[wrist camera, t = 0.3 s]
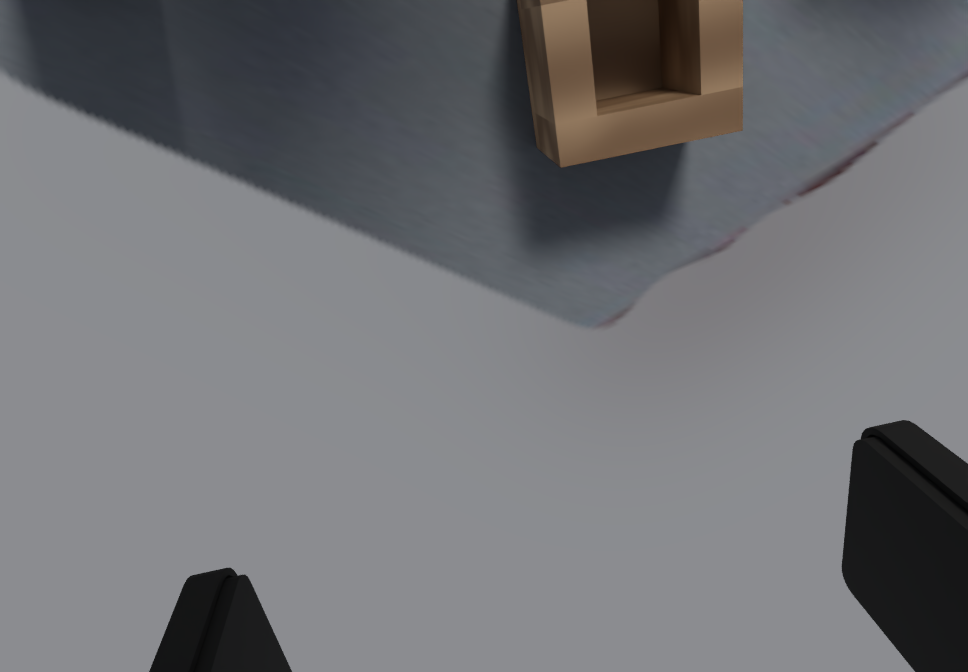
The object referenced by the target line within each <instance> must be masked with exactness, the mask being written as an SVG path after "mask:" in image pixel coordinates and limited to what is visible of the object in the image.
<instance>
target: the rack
mask: <svg viewBox="0 0 968 672" xmlns="http://www.w3.org/2000/svg"><path fill="white" fill-rule="evenodd" d="M517 6H518V13H519V20H520V28H521V35H522V42H523V50H524V57H525V64H526V72H527V79H528V86H529V94H530V101H531V108H532V116H533V123H534V130H535V138H536V145H537V148H538V149H539V150H540V151H541V152H543V153H544V154H545V155H546V156H547V157H549V158H550V159H551V160H552V161H553V162H555V163H556V164H557V165H558V166H559V167H560V168H561V167H566V166H571V165H576V164H581V163H586V162H591V161H596V160H601V159H605V158H610V157H615V156H620V155H625V154H630V153H635V152H640V151H645V150H649V149H654V148H659V147H664V146H669V145H674V144H679V143H684V142H689V141H693V140H698V139H703V138H708V137H713V136H718V135H723V134H728V133H733V132H737V131H742V130H743V0H517Z"/></svg>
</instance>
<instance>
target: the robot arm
mask: <svg viewBox="0 0 968 672" xmlns="http://www.w3.org/2000/svg"><path fill="white" fill-rule="evenodd" d="M842 573H843V577H844V580H845V583H846V584H847V586H848V588H849V590H850V591H851V593H852V594H853V595H854V597H855V598H856V599H857V600H858V601H859V603H860V604H861V605H862V606H863V608H864V609H865V610H866V611H867V613H868V614H869V615H870V616H871V618H872V619H873V620H874V621H875V622H876V624H877V625H878V626H879V627H880V629H881V630H882V631H883V632H884V634H885V635H886V636H887V637H888V639H889V640H890V641H891V642H892V644H893V645H894V646H895V647H896V649H897V650H898V651H899V652H900V653H901V655H902V656H903V657H904V658H905V660H906V661H907V662H908V663H909V665H910V666H911V667H912V668H913V669H914V671H915V672H968V464H967V463H966V462H965V461H963V460H962V459H961V458H959V457H958V456H957V455H955V454H954V453H953V452H951V451H950V450H949V449H947V448H946V447H944V446H943V445H942V444H941V443H939V442H938V441H937V440H935V439H934V438H933V437H931V436H930V435H929V434H928V433H926V432H925V431H924V430H922V429H921V428H919V427H918V426H917V425H915V424H914V423H912V422H910V421H906V420H902V421H897V422H893V423H888V424H884V425H879V426H874V427H870V428H867V429H865V430H864V432H863V433H862V436H861V440H857V441H856V442H855V443H854V446H853V452H852V462H851V473H850V484H849V494H848V505H847V516H846V526H845V538H844V548H843V559H842ZM149 672H292V671H291V669H290V666H289V665H288V662H287V660H286V658H285V656H284V654H283V651H282V649H281V647H280V645H279V643H278V640H277V638H276V636H275V634H274V632H273V629H272V627H271V625H270V623H269V621H268V619H267V616H266V614H265V612H264V610H263V608H262V606H261V603H260V601H259V599H258V597H257V595H256V593H255V591H254V588H253V586H252V584H251V582H250V580H249V578H248V577H247V576H246V575H239V576H237V574H236V573H235V571H234V570H233V569H231V568H224V569H220V570H215V571H210V572H206V573H201V574H197V575H192V576H190V577H189V578H188V579H187V580H186V582H185V584H184V586H183V588H182V591H181V593H180V596H179V598H178V601H177V603H176V606H175V609H174V611H173V614H172V616H171V619H170V621H169V623H168V626H167V629H166V631H165V634H164V636H163V639H162V641H161V644H160V646H159V649H158V651H157V654H156V656H155V659H154V661H153V664H152V667H151V669H150V671H149Z"/></svg>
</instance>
